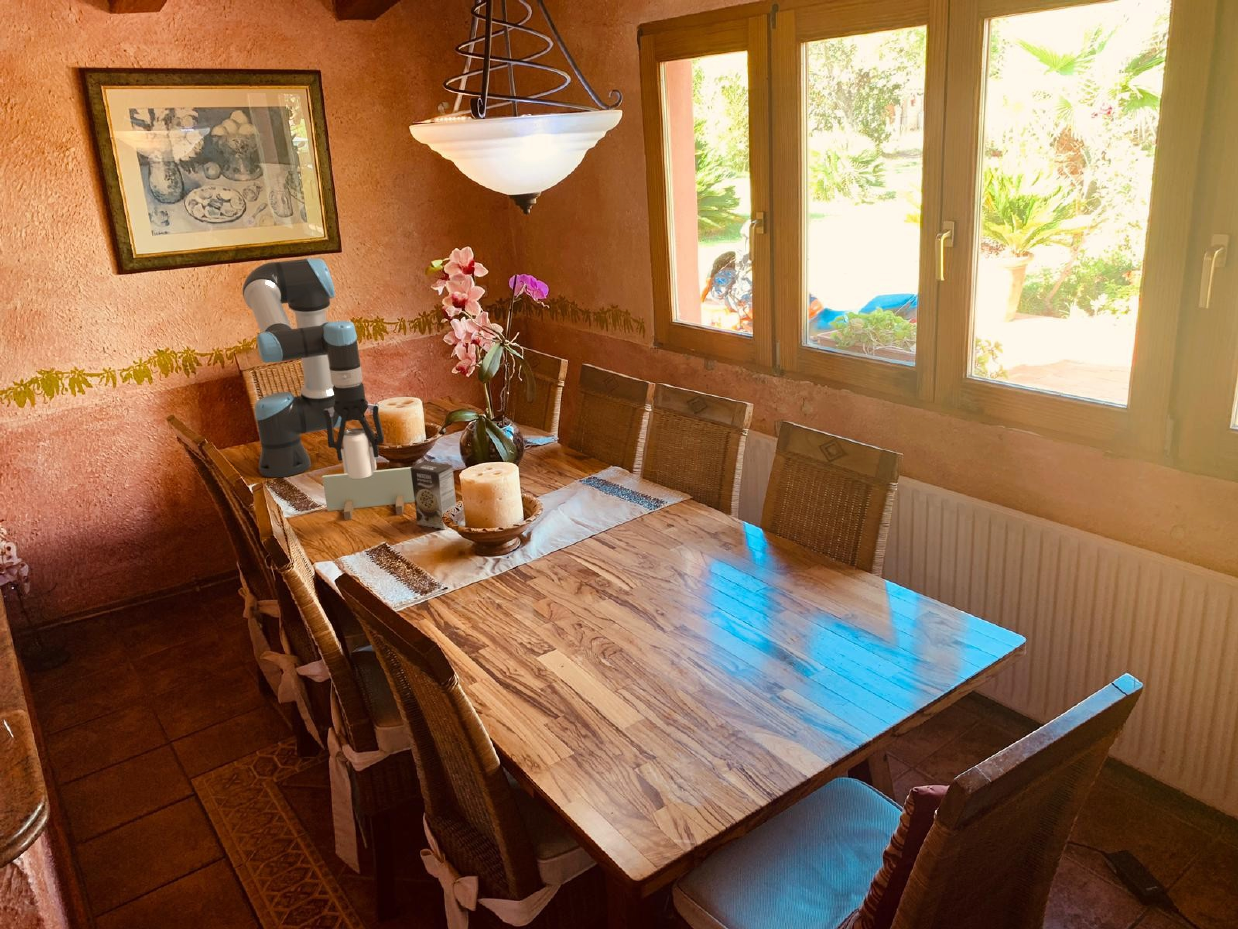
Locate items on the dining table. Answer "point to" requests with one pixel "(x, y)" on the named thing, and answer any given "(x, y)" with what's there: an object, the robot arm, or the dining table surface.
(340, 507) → the wall board
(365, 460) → the can
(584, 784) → the dining table surface
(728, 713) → the dining table surface
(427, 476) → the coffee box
